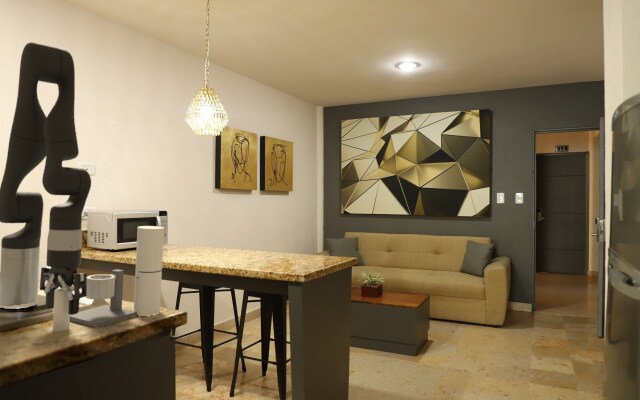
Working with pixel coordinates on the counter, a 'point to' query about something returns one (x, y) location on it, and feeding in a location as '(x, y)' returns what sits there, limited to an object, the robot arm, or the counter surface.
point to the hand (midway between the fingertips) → (61, 311)
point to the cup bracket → (104, 289)
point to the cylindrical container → (148, 270)
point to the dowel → (61, 311)
